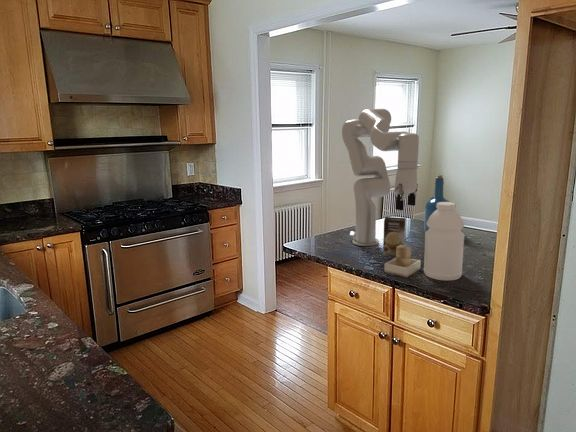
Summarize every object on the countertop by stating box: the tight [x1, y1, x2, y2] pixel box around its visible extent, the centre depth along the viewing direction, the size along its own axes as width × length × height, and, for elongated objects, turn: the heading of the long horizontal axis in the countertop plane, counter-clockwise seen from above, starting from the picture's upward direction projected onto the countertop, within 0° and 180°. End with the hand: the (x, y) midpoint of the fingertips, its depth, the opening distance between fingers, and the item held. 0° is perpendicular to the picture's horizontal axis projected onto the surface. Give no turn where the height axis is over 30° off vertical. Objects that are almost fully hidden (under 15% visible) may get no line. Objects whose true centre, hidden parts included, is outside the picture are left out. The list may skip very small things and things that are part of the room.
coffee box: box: [382, 216, 407, 257], centre depth 190 cm, size 9×6×16 cm
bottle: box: [423, 201, 466, 282], centre depth 163 cm, size 14×14×28 cm
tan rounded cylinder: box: [395, 245, 412, 267], centre depth 170 cm, size 4×4×9 cm
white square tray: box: [384, 257, 422, 278], centre depth 171 cm, size 10×12×4 cm
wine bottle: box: [423, 174, 450, 233], centre depth 220 cm, size 14×13×30 cm
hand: (405, 207), depth 174 cm, fingers open, 9 cm apart
